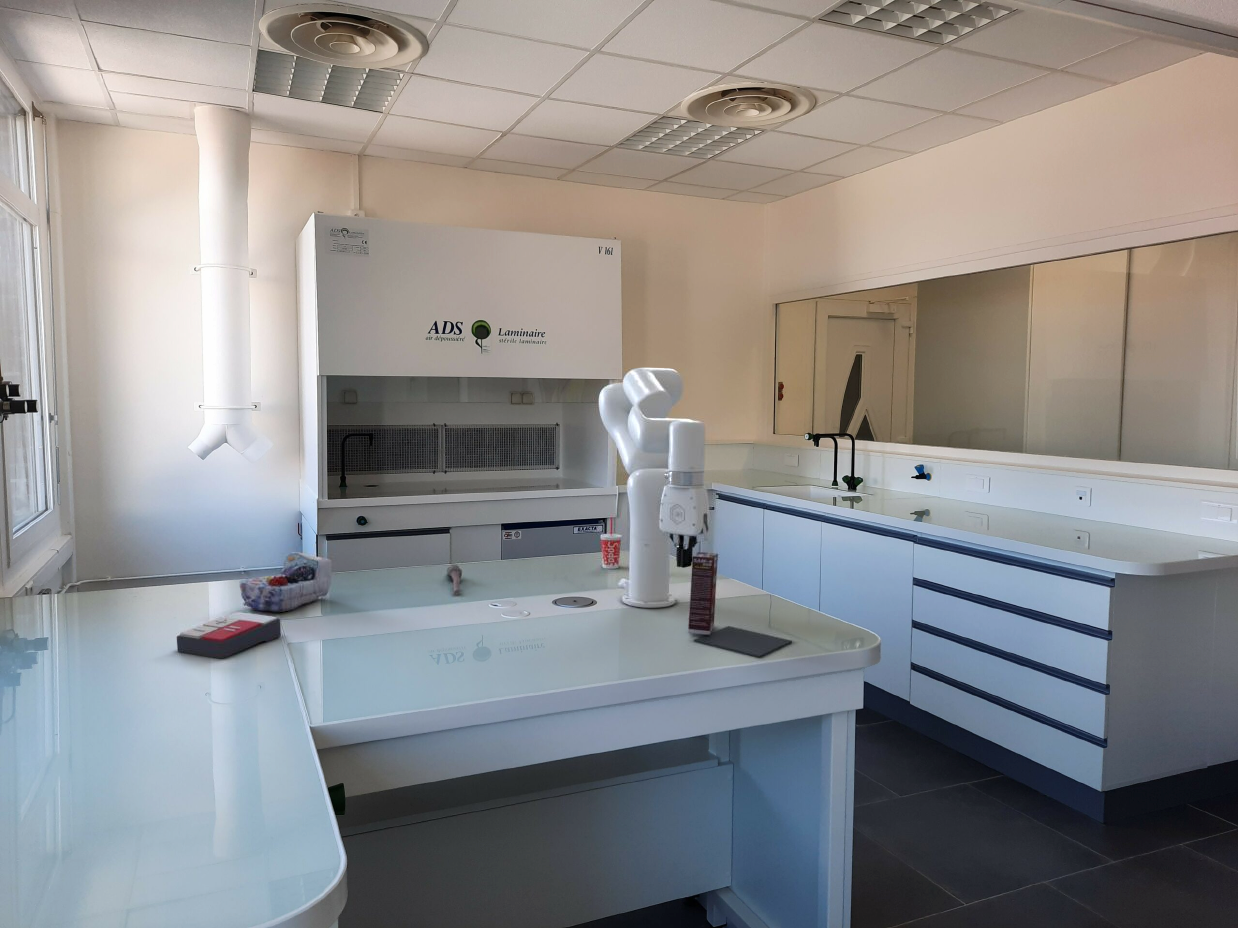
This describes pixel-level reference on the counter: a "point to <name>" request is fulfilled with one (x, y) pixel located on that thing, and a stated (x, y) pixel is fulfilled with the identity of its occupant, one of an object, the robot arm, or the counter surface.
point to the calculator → (228, 635)
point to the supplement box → (703, 593)
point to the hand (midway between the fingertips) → (684, 566)
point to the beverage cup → (611, 550)
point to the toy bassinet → (289, 584)
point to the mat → (743, 641)
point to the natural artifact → (454, 577)
